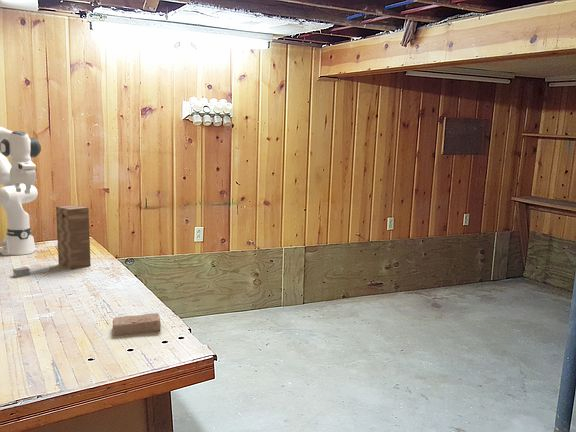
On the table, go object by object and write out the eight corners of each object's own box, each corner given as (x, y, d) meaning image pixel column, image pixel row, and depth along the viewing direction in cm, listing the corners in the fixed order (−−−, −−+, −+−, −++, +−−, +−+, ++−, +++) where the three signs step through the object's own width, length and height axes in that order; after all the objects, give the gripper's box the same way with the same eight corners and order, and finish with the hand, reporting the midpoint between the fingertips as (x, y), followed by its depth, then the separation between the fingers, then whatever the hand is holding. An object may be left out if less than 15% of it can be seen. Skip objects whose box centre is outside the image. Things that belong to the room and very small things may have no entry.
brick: (112, 336, 181) (112, 323, 180) (112, 328, 189) (112, 315, 188) (161, 332, 186) (161, 319, 186) (159, 324, 194) (159, 312, 194)
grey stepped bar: (17, 277, 248) (16, 270, 248) (13, 275, 251) (13, 269, 250) (50, 271, 260) (50, 264, 260) (46, 270, 263) (46, 263, 262)
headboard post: (58, 264, 273) (56, 206, 268) (76, 261, 281) (74, 204, 276) (72, 269, 265) (70, 209, 260) (90, 265, 272) (88, 207, 268)
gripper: (5, 163, 259) (6, 191, 261) (24, 166, 246) (26, 195, 249) (18, 163, 264) (19, 190, 266) (37, 165, 251) (39, 194, 254)
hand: (22, 192), depth 257 cm, fingers open, 8 cm apart
